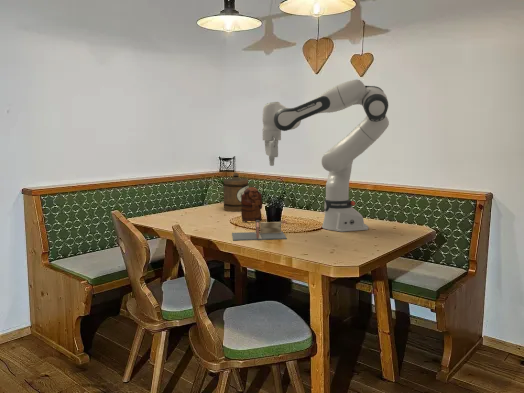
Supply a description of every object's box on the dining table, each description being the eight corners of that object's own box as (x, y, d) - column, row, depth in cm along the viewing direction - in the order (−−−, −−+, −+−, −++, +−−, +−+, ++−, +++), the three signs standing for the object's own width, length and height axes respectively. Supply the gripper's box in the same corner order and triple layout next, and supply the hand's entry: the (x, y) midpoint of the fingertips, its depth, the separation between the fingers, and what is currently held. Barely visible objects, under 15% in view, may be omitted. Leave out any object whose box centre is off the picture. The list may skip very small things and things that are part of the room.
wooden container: (244, 212, 278) (244, 174, 274) (220, 211, 281) (219, 174, 278) (251, 207, 292) (251, 172, 289) (228, 206, 295) (227, 171, 292)
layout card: (282, 232, 227) (282, 231, 227) (286, 239, 214) (286, 237, 214) (231, 233, 224) (231, 232, 224) (233, 240, 211) (233, 239, 211)
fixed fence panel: (280, 232, 225) (280, 219, 224) (281, 232, 224) (281, 220, 223) (255, 232, 224) (255, 220, 223) (256, 233, 222) (255, 221, 221)
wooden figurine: (248, 223, 248) (248, 188, 245) (240, 221, 252) (239, 187, 249) (264, 219, 256) (264, 186, 253) (256, 218, 260) (256, 185, 257)
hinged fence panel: (256, 232, 222) (256, 222, 221) (258, 232, 222) (258, 222, 221) (256, 237, 213) (256, 226, 212) (258, 237, 213) (258, 226, 212)
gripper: (281, 137, 218) (281, 167, 220) (275, 136, 238) (275, 163, 240) (267, 137, 218) (267, 167, 220) (263, 136, 238) (263, 163, 240)
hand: (271, 165), depth 230 cm, fingers closed
